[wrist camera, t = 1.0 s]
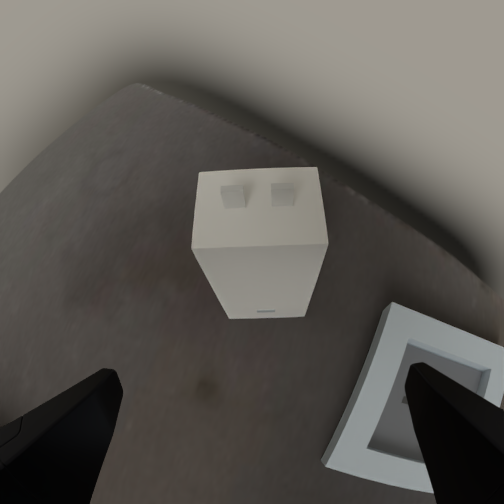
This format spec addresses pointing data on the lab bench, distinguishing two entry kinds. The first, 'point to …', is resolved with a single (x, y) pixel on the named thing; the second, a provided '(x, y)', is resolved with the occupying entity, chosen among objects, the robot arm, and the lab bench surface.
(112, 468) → the lab bench surface
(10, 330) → the lab bench surface
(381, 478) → the outlet plate
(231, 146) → the lab bench surface
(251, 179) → the adapter
